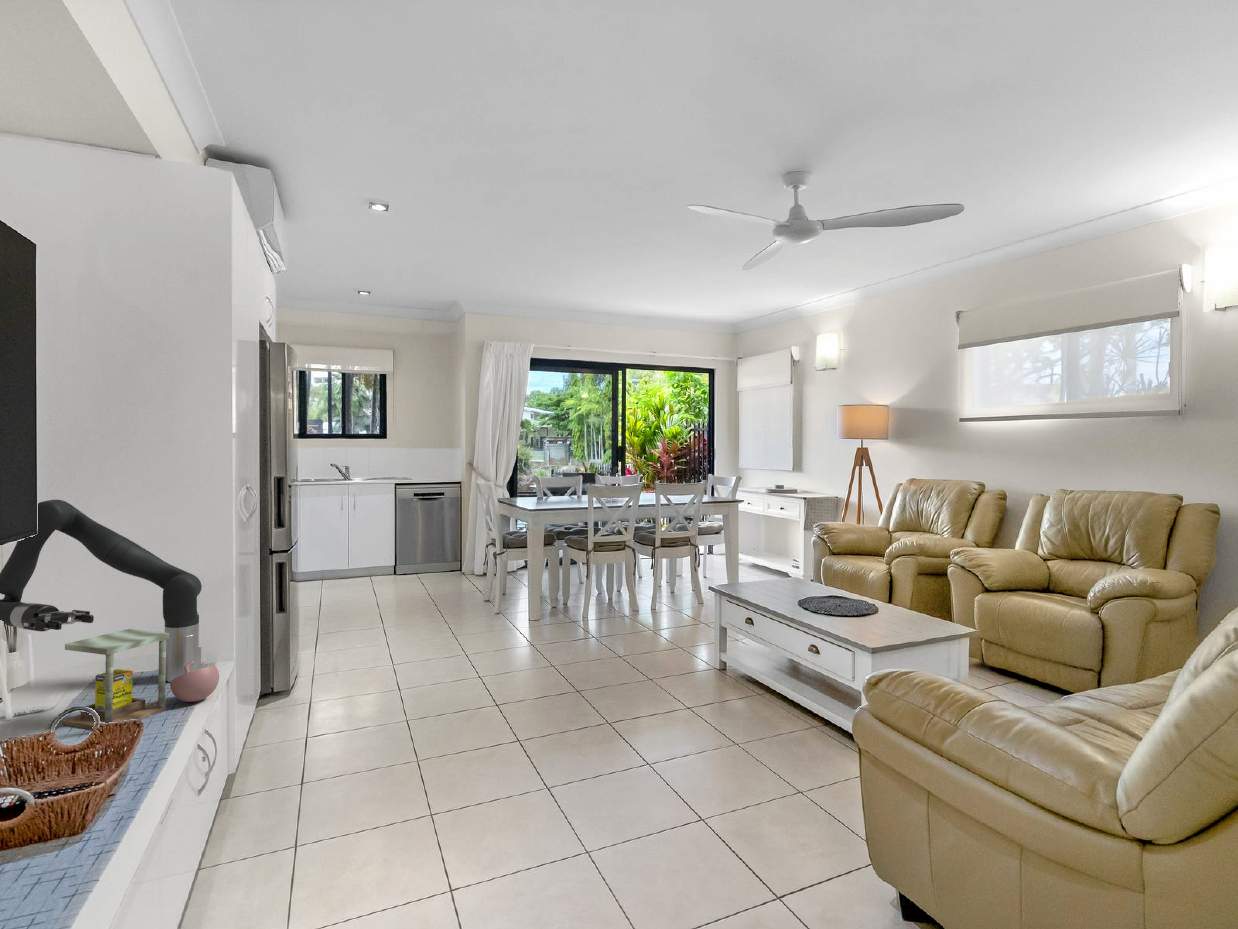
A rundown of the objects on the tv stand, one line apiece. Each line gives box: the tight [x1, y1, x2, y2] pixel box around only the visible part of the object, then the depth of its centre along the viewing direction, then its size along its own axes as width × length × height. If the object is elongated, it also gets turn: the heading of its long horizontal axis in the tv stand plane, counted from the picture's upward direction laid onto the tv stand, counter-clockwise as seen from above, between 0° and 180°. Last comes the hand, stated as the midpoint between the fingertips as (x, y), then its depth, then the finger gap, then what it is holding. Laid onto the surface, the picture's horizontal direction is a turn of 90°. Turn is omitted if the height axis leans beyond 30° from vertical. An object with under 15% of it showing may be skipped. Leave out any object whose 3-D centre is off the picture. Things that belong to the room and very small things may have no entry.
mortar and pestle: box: [169, 661, 220, 703], centre depth 191 cm, size 12×12×12 cm
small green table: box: [62, 628, 169, 730], centre depth 178 cm, size 17×16×22 cm
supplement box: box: [94, 668, 134, 710], centre depth 178 cm, size 6×6×11 cm
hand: (76, 622), depth 185 cm, fingers open, 8 cm apart
